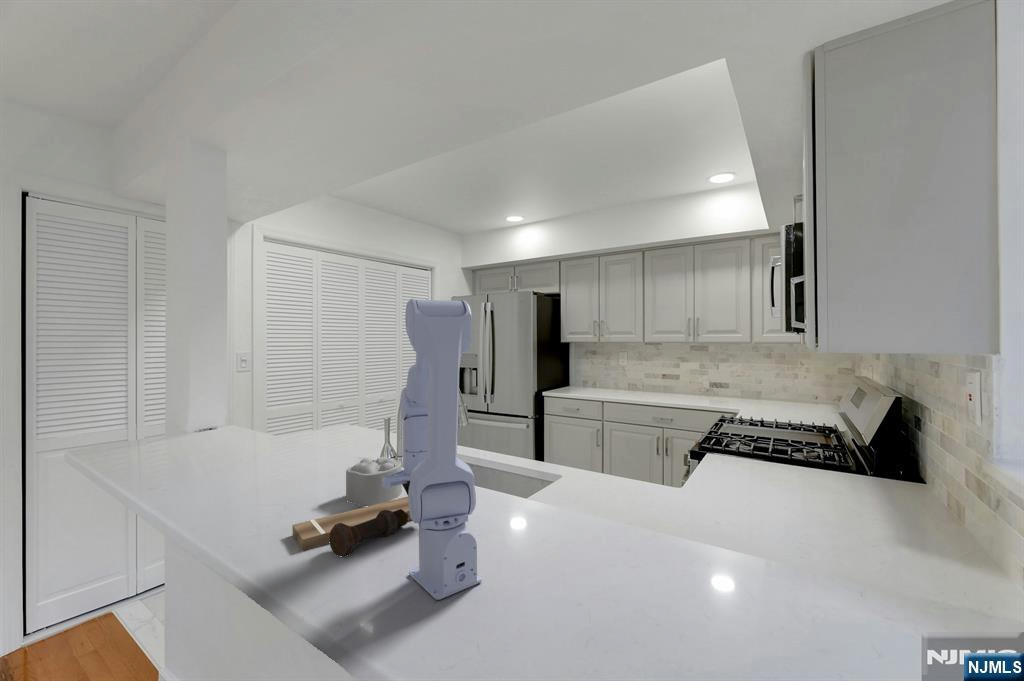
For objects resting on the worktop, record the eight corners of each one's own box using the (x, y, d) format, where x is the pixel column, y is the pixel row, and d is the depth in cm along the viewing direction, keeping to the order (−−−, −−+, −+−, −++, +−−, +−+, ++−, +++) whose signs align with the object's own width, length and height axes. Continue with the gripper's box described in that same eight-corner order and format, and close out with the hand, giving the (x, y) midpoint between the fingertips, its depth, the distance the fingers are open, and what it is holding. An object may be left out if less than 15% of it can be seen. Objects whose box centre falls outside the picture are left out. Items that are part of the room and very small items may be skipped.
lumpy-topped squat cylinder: (340, 500, 103) (340, 463, 103) (384, 484, 114) (383, 451, 114) (369, 509, 98) (368, 470, 98) (412, 492, 109) (412, 457, 109)
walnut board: (424, 516, 93) (424, 506, 93) (303, 550, 78) (302, 538, 78) (408, 505, 100) (407, 496, 100) (292, 535, 85) (292, 524, 85)
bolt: (406, 536, 88) (339, 564, 76) (392, 518, 91) (325, 543, 79) (416, 514, 87) (350, 539, 75) (402, 496, 89) (335, 518, 77)
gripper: (440, 440, 96) (440, 501, 96) (375, 450, 87) (376, 519, 87) (456, 446, 91) (457, 511, 91) (390, 458, 82) (390, 530, 82)
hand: (418, 516), depth 89 cm, fingers closed
